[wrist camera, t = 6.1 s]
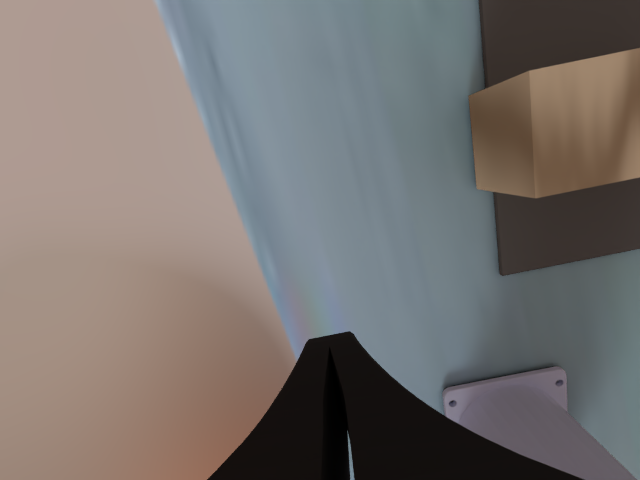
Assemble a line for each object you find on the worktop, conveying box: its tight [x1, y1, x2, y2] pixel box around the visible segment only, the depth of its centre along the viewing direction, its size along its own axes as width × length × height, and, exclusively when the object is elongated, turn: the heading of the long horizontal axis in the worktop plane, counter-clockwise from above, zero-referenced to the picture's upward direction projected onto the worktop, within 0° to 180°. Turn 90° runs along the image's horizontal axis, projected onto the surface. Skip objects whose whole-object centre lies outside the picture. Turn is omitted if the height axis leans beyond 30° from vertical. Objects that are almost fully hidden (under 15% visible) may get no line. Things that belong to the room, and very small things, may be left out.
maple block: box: [469, 48, 640, 198], centre depth 16 cm, size 5×5×9 cm
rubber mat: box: [479, 0, 640, 276], centre depth 18 cm, size 16×11×1 cm
